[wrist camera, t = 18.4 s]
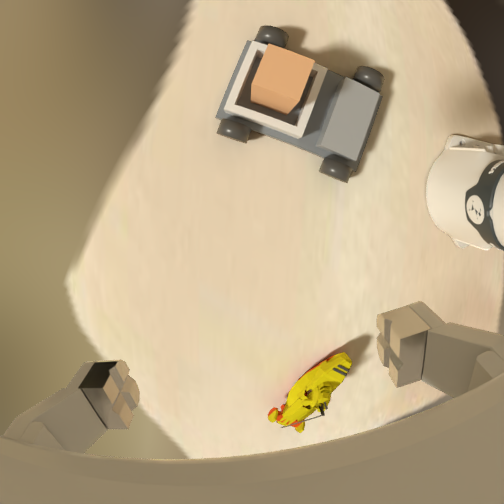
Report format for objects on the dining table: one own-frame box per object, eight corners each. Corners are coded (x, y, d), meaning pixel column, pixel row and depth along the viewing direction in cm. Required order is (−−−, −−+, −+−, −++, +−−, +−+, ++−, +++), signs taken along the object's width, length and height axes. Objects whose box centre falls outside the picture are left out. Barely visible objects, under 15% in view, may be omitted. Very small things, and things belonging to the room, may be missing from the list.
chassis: (383, 86, 37) (395, 80, 33) (348, 184, 41) (358, 187, 37) (252, 31, 34) (253, 20, 31) (211, 132, 39) (207, 129, 35)
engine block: (299, 82, 36) (315, 60, 26) (286, 115, 37) (299, 101, 28) (263, 69, 35) (268, 43, 26) (250, 102, 37) (251, 84, 27)
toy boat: (264, 403, 52) (266, 444, 43) (328, 336, 48) (343, 373, 39) (291, 415, 53) (297, 454, 44) (354, 351, 49) (373, 388, 40)
